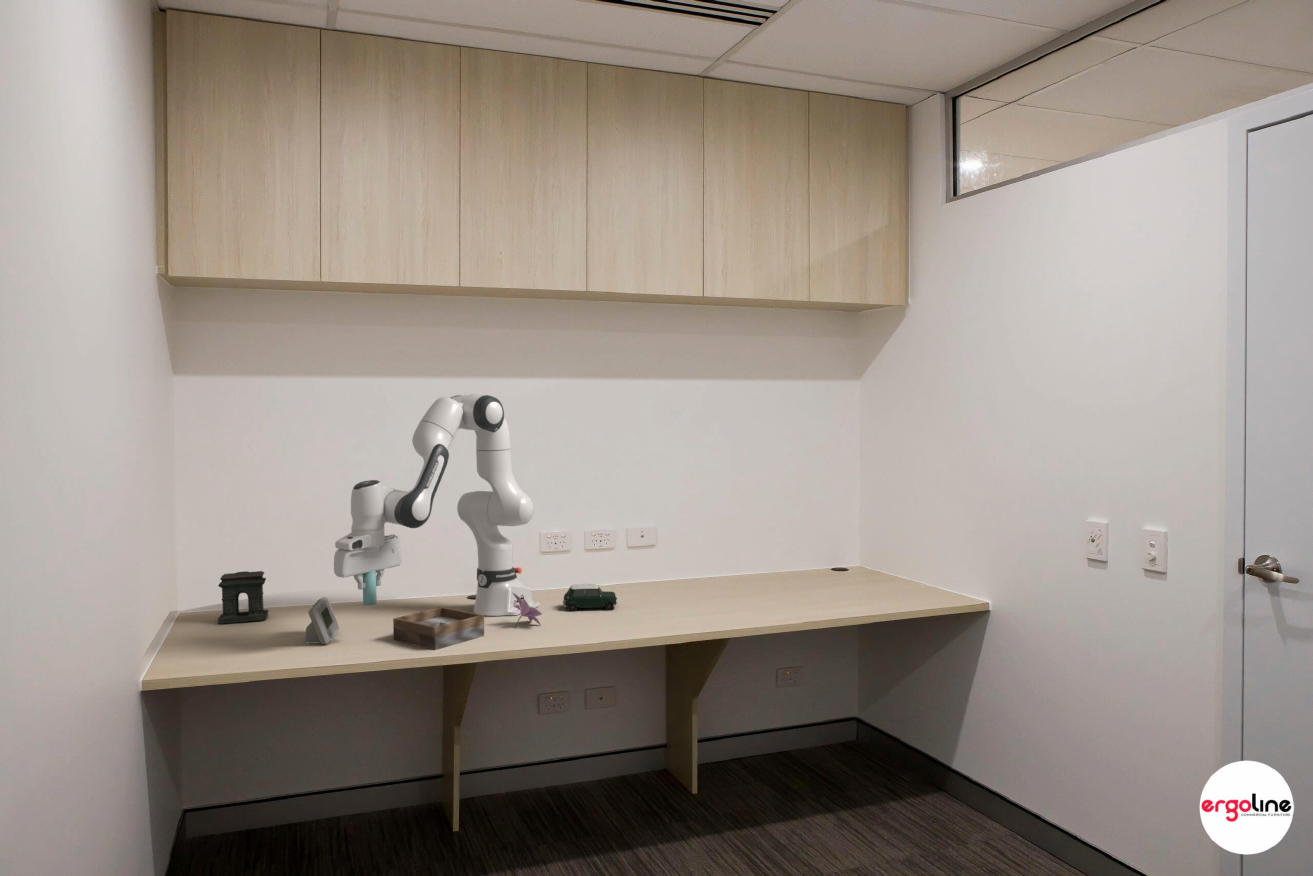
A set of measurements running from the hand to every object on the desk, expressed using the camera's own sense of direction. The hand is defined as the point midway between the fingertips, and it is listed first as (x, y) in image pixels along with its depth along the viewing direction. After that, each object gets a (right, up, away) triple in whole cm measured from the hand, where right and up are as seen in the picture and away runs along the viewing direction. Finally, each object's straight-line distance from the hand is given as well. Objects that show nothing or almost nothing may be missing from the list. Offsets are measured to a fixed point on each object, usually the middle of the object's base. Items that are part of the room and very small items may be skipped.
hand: (369, 587), depth 244 cm
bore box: (+18, -15, +5) cm, 24 cm away
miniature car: (+59, -15, +43) cm, 74 cm away
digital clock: (-14, -16, +4) cm, 21 cm away
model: (-47, -15, +25) cm, 56 cm away
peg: (0, -5, 0) cm, 5 cm away
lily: (+41, -15, +20) cm, 48 cm away
